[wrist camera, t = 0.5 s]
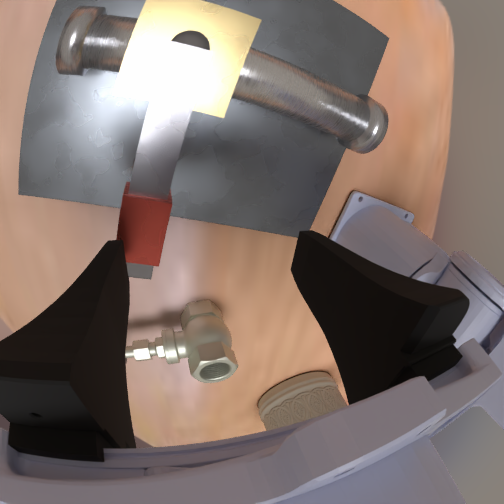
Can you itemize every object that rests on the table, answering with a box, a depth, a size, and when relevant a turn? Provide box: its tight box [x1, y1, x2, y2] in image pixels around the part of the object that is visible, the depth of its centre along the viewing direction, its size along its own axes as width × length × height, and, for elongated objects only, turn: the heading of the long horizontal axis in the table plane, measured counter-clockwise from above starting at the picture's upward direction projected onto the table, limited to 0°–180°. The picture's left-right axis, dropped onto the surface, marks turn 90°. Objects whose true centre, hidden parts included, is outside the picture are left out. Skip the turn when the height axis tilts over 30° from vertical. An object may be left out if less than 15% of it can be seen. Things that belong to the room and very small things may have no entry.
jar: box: [258, 372, 347, 431], centre depth 35 cm, size 13×13×18 cm
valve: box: [125, 300, 238, 383], centre depth 23 cm, size 7×7×12 cm
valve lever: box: [117, 30, 213, 279], centre depth 11 cm, size 11×2×2 cm, turn 160°
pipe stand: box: [19, 0, 389, 238], centre depth 13 cm, size 22×18×6 cm
